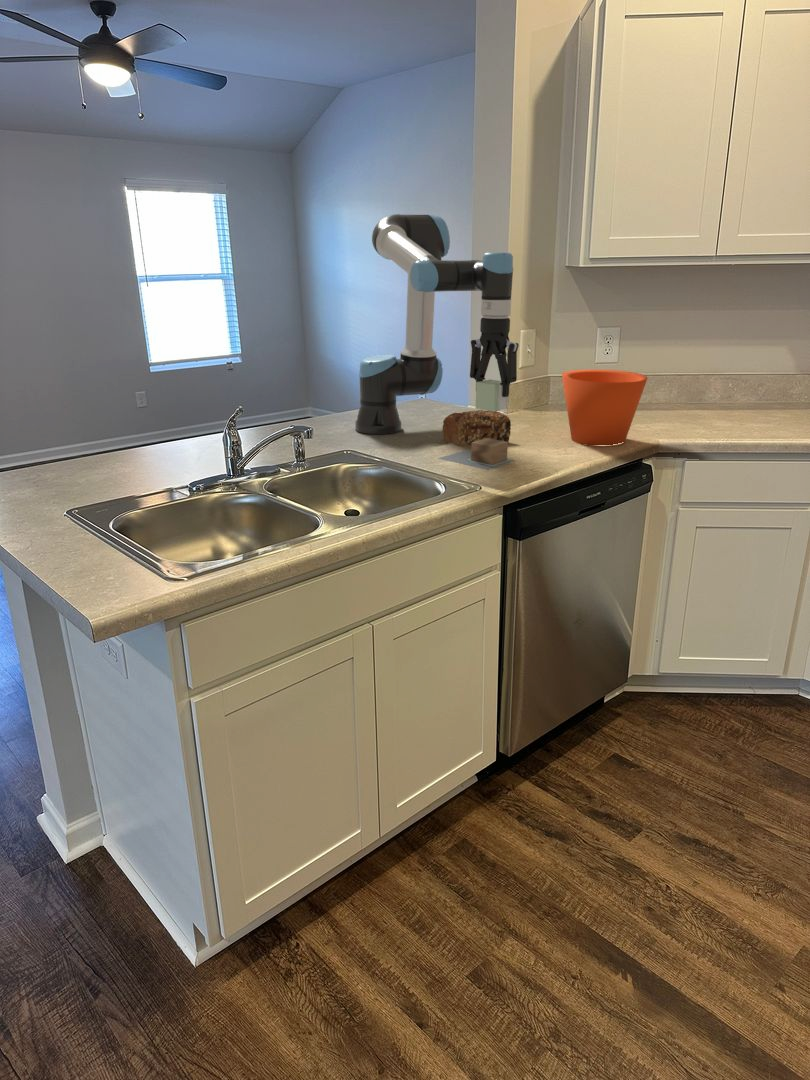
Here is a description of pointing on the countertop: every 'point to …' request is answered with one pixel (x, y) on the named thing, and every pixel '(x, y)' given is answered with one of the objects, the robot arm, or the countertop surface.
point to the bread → (476, 427)
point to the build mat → (465, 459)
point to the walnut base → (489, 451)
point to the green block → (488, 395)
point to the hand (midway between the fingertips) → (491, 407)
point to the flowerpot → (601, 404)
